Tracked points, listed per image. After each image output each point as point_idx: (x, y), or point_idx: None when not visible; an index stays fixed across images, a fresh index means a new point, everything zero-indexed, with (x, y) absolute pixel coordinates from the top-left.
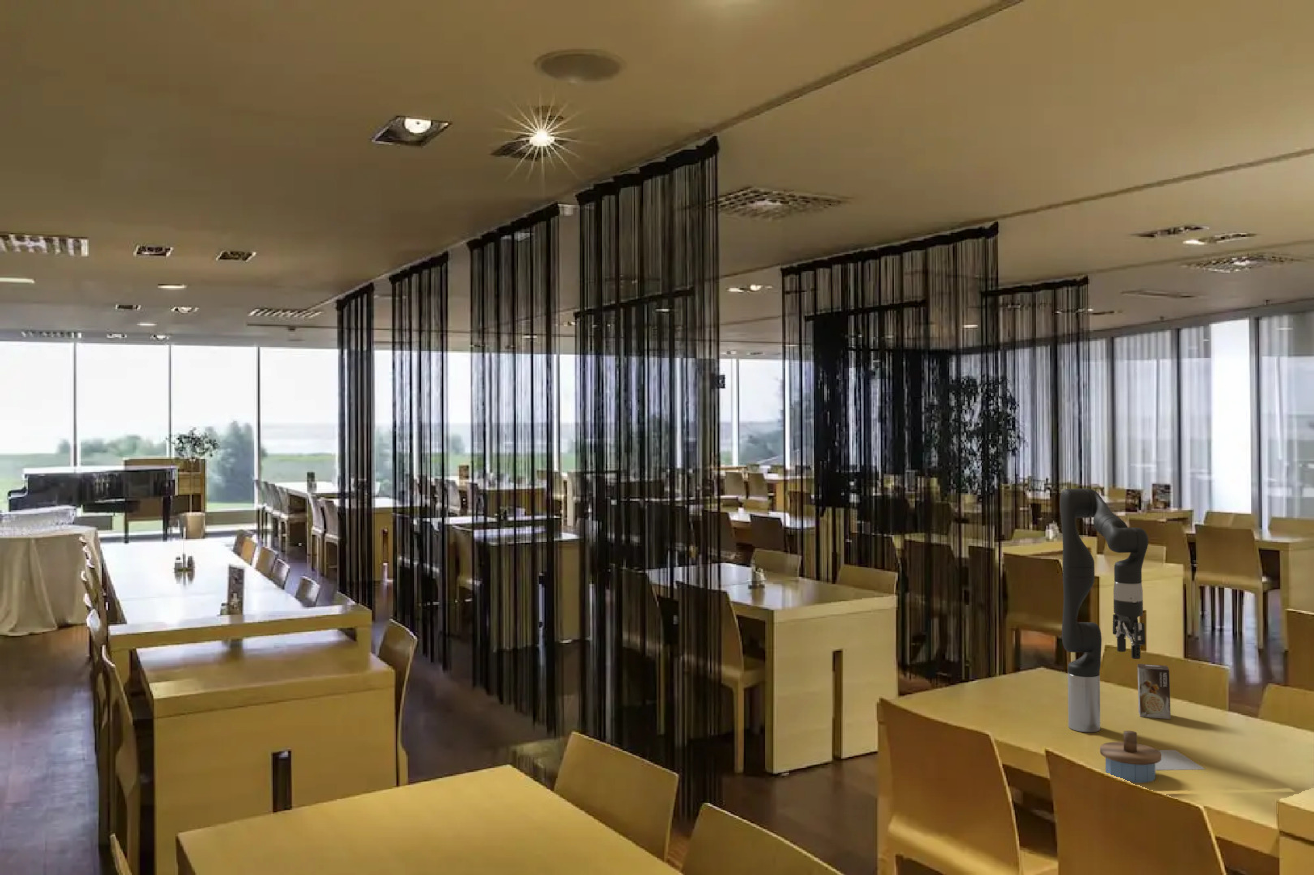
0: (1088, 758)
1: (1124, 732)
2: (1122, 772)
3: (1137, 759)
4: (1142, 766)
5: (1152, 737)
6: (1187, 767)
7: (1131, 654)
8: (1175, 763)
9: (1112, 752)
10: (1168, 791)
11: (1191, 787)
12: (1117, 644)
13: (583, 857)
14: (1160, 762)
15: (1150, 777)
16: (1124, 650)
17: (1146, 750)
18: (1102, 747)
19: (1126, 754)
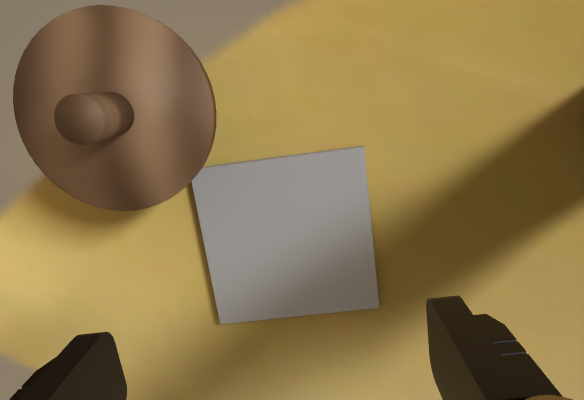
0: (310, 27)
1: (72, 95)
2: None
3: (20, 107)
4: None
5: (522, 292)
6: (227, 285)
7: (82, 351)
8: (258, 267)
9: (78, 40)
10: None
11: (96, 243)
12: (475, 336)
13: None
14: (262, 230)
15: None
16: (434, 365)
17: (126, 171)
18: (133, 19)
19: (67, 86)
